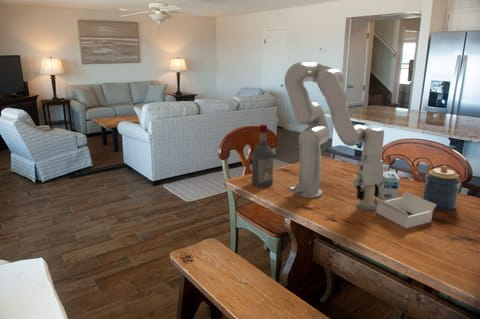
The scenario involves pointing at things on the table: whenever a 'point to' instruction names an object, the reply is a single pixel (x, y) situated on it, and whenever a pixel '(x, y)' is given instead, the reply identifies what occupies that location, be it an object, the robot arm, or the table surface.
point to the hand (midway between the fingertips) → (367, 197)
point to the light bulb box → (389, 186)
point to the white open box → (408, 203)
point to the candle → (368, 196)
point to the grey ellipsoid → (366, 207)
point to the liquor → (262, 161)
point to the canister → (442, 188)
